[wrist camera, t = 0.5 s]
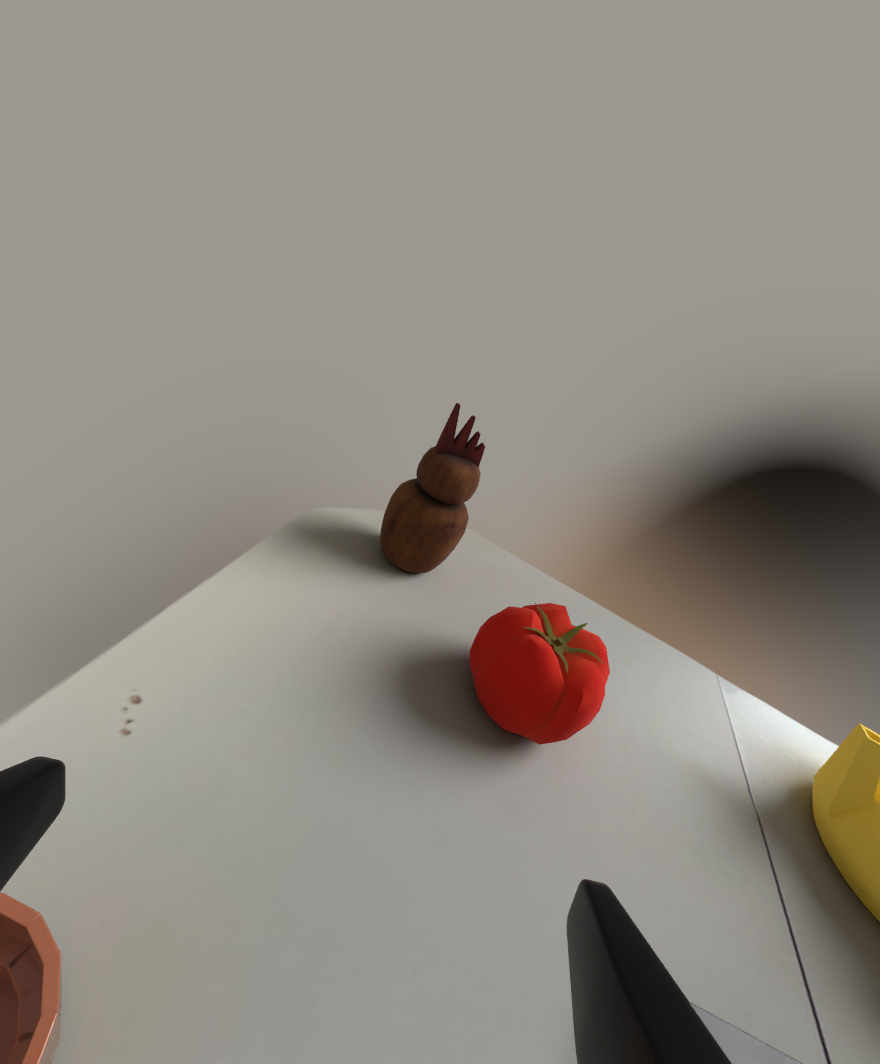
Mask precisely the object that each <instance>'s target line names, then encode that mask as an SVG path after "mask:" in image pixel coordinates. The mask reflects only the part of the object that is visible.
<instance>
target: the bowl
mask: <svg viewBox="0 0 880 1064" xmlns="http://www.w3.org/2000/svg"><path fill="white" fill-rule="evenodd" d="M60 1019H61V955H60V951H59V949H58V947H57V945H56V943H55V941H54V939H53V937H52V934H51V932H50V930H49V928H48V926H47V924H46V922H45V920H44V918H43V916H42V915H40V913H39V912H37V911H36V910H34V909H32V908H30V907H28V906H26V905H25V904H23V903H21V902H19V901H17V900H16V899H14V898H12V897H10V896H8V895H6V894H5V893H1V892H0V1064H51V1062H52V1059H53V1057H54V1054H55V1051H56V1048H57V1046H58V1041H59V1038H60Z"/></svg>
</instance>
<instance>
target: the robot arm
mask: <svg viewBox="0 0 880 1064" xmlns="http://www.w3.org/2000/svg"><path fill="white" fill-rule="evenodd" d="M64 801H65V765H64V763H63V762H62V761H60V760H56V759H51V758H47V757H35V758H32V759H29V760H27V761H25V762H22V763H20V764H17V765H15V766H12V767H10V768H8V769H5V770H3V771H0V891H1V890H2V889H3V887H4V886H5V885H6V883H7V882H8V881H9V879H10V878H11V877H12V875H13V874H14V873H15V871H16V870H17V869H18V867H19V866H20V865H21V863H22V862H23V861H24V860H25V858H26V857H27V856H28V854H29V853H30V852H31V850H32V849H33V848H34V846H35V845H36V844H37V842H38V841H39V840H40V838H41V837H42V836H43V835H44V833H45V832H46V831H47V829H48V828H49V827H50V825H51V824H52V823H53V821H54V820H55V819H56V817H57V816H58V814H59V813H60V811H61V809H62V807H63V805H64ZM567 940H568V953H569V967H570V981H571V994H572V1008H573V1021H574V1034H575V1045H576V1055H577V1062H578V1064H732V1063H731V1061H730V1060H729V1059H728V1057H727V1056H726V1054H725V1053H724V1051H723V1050H722V1048H721V1047H720V1046H719V1044H718V1043H717V1041H716V1040H715V1038H714V1037H713V1036H712V1034H711V1033H710V1031H709V1030H708V1028H707V1027H706V1025H705V1024H704V1023H703V1021H702V1020H701V1018H700V1017H699V1015H698V1014H697V1013H696V1011H695V1010H694V1008H693V1007H692V1005H691V1004H690V1002H689V1001H688V1000H687V998H686V997H685V995H684V994H683V992H682V991H681V990H680V988H679V987H678V985H677V984H676V982H675V981H674V980H673V978H672V977H671V975H670V974H669V972H668V971H667V969H666V968H665V967H664V965H663V964H662V962H661V961H660V959H659V958H658V957H657V955H656V954H655V952H654V951H653V949H652V948H651V946H650V945H649V944H648V942H647V941H646V939H645V938H644V936H643V935H642V934H641V932H640V931H639V929H638V928H637V926H636V925H635V923H634V922H633V921H632V919H631V918H630V916H629V915H628V913H627V912H626V911H625V909H624V908H623V906H622V905H621V903H620V902H619V900H618V899H617V898H616V896H615V895H614V893H613V892H612V890H611V889H610V888H609V887H608V886H607V885H606V884H604V883H600V882H596V881H592V880H587V879H584V880H582V881H581V882H580V884H579V886H578V889H577V891H576V894H575V897H574V900H573V902H572V905H571V908H570V910H569V913H568V918H567Z"/></svg>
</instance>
